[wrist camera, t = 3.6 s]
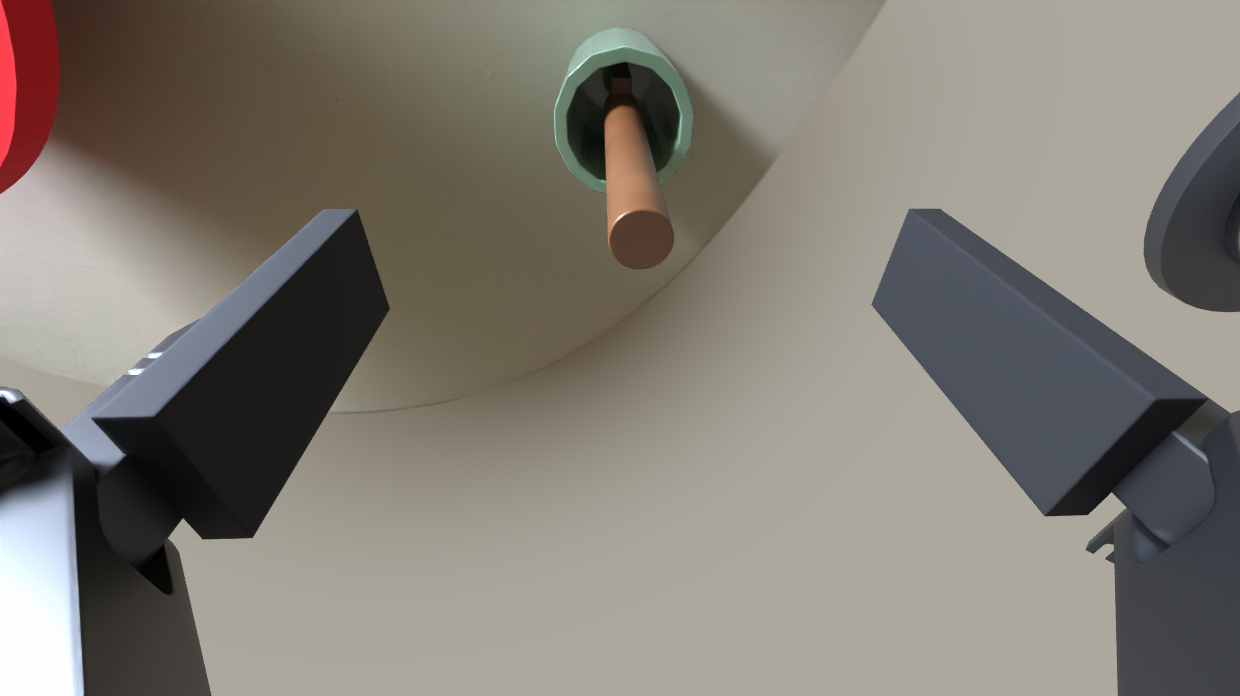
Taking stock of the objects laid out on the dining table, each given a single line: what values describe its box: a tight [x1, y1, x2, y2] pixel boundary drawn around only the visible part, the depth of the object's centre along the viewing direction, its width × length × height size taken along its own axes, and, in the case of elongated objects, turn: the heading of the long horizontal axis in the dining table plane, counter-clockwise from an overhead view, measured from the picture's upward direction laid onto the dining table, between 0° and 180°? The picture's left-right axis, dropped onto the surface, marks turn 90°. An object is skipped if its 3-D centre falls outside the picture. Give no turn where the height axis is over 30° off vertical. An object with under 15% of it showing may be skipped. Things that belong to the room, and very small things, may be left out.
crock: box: [554, 28, 694, 194], centre depth 26 cm, size 6×6×9 cm
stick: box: [604, 62, 674, 269], centre depth 21 cm, size 2×3×20 cm, turn 0°
